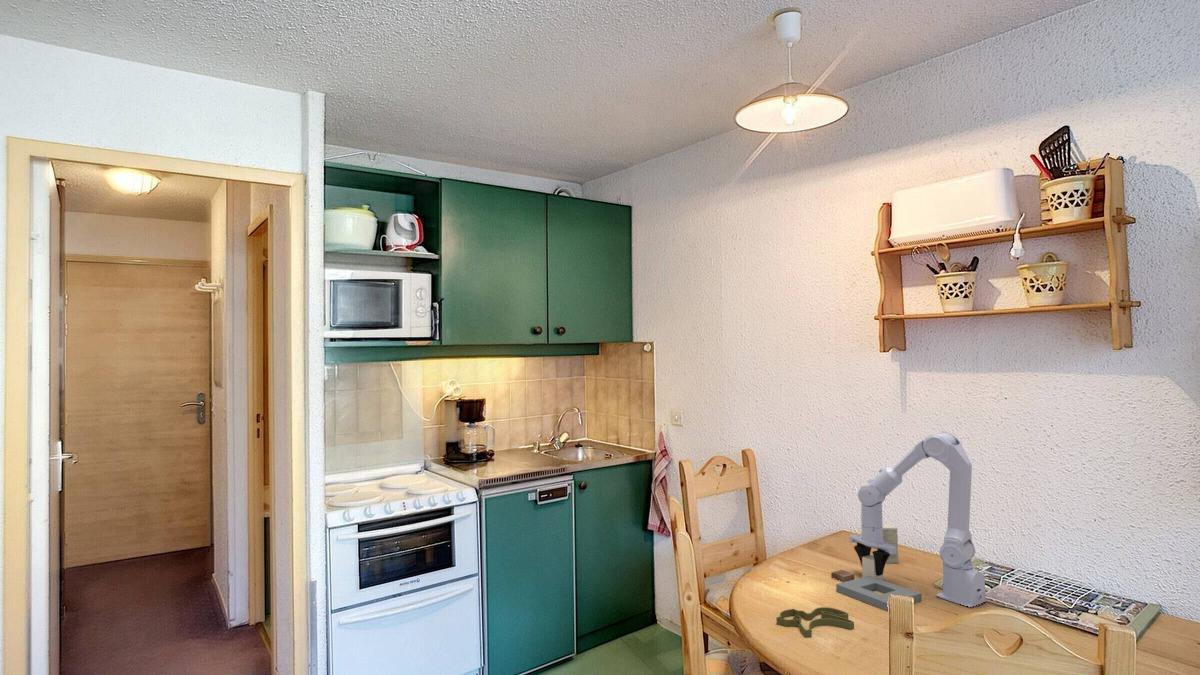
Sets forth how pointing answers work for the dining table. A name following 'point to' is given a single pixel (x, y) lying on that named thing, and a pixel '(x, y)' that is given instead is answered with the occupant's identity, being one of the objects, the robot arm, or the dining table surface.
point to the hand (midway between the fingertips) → (872, 572)
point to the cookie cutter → (827, 619)
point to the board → (866, 585)
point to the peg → (869, 567)
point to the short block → (842, 575)
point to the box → (891, 541)
